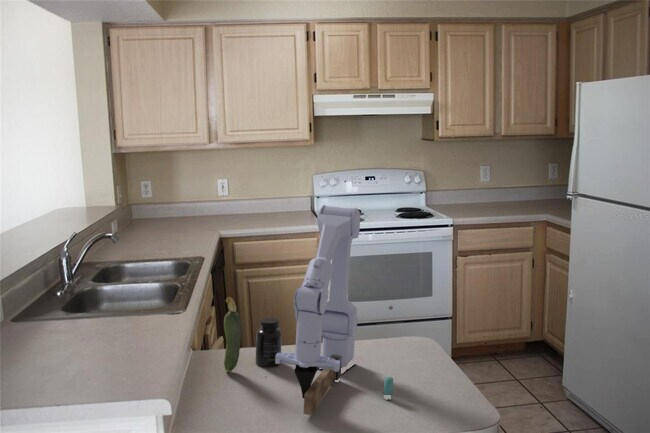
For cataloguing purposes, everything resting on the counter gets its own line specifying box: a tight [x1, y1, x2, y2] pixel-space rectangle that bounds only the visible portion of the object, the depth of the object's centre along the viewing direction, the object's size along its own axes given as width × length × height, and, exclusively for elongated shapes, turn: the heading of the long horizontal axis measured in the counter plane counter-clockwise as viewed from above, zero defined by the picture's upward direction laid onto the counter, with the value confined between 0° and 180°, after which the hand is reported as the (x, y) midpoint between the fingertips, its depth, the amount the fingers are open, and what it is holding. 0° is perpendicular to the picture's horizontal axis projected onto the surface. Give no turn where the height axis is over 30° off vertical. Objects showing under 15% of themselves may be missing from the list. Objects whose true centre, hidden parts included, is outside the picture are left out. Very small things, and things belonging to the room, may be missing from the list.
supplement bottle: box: [254, 317, 283, 369], centre depth 156 cm, size 7×7×12 cm
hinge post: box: [330, 354, 342, 380], centre depth 147 cm, size 2×2×6 cm
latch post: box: [383, 376, 394, 396], centre depth 139 cm, size 2×2×5 cm
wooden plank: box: [303, 358, 337, 416], centre depth 136 cm, size 21×2×6 cm, turn 164°
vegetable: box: [223, 296, 242, 373], centre depth 147 cm, size 4×4×20 cm
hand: (305, 396), depth 133 cm, fingers closed
